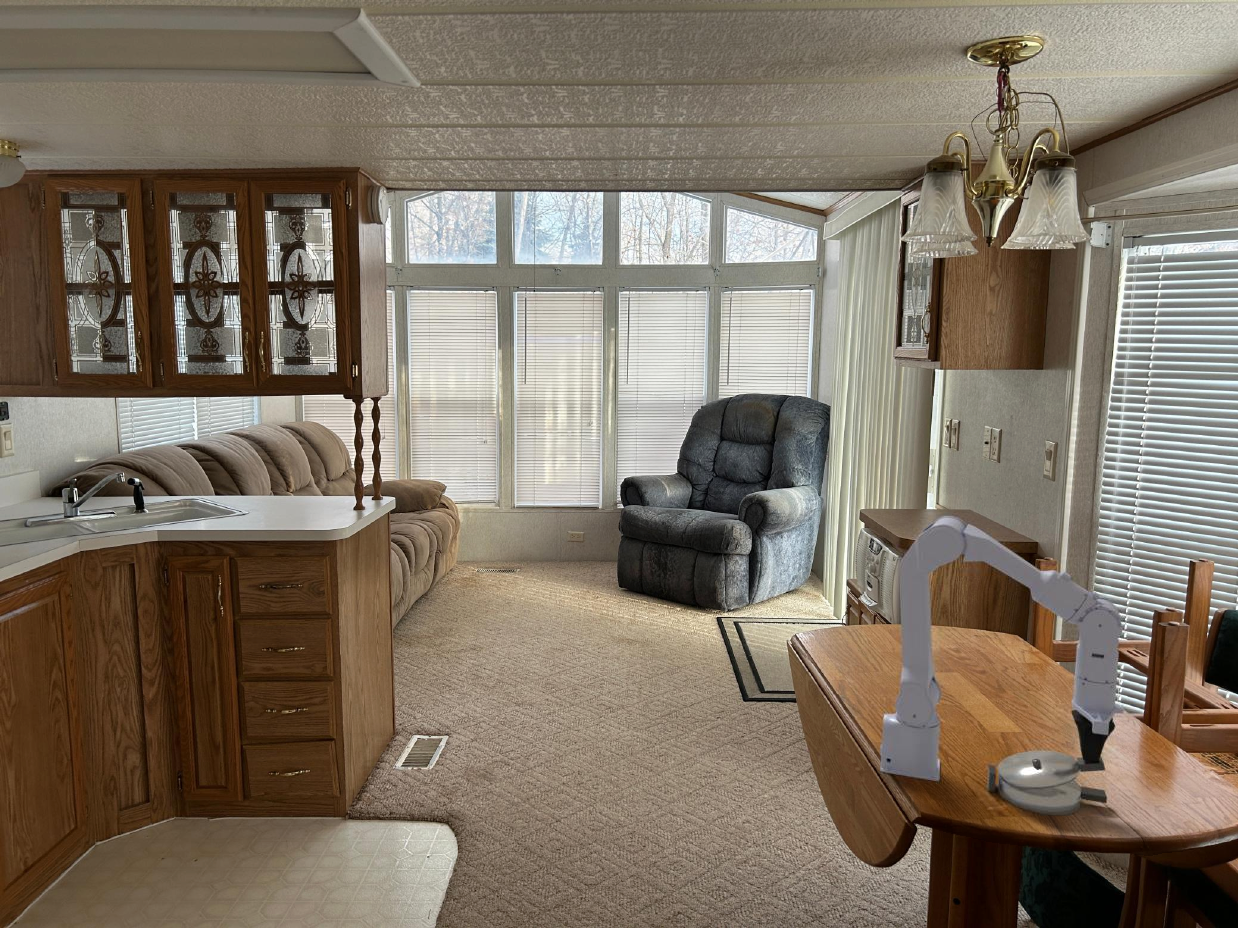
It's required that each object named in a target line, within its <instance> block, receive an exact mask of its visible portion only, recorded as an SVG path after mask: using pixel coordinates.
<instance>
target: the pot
mask: <svg viewBox="0 0 1238 928" xmlns="http://www.w3.org/2000/svg"><path fill="white" fill-rule="evenodd" d="M996 771H997V770H996V766H995V765H991V764H988V769H987V791H988V792H990V793H996V782H997V791H998V794H999V795H1000V796H1001V797H1002V798H1003V799H1004V800H1005V801H1007V802H1008V803H1010V804H1012V805H1014V806H1015V807H1018V808H1020V809H1022V810H1025V811H1028V812H1032V813H1036V814H1041V815H1049V816H1066V815H1071V814H1074V813H1076V812H1077V811H1078V810H1079V809H1080V807H1081V800H1084V801H1091V802H1095V803H1103V804H1108V796H1107V794H1106V791H1105V789H1100V788H1095V787H1094V788H1093V787H1088V786H1082V785H1080V784H1079V782H1078V781H1077V780H1075V779H1074V780H1073V781H1071V782H1069V783H1067V784H1064V785H1061V786H1057V787H1052V788H1043V789H1030V788H1021V787H1017V786H1013V785H1010V784H1008V783H1006V782H1004V781H1003V780H1002V779H1001V778H1000V776H999V775H998V779H997V772H996ZM996 779H997V780H996Z"/></svg>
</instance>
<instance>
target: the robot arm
mask: <svg viewBox="0 0 1238 928" xmlns="http://www.w3.org/2000/svg"><path fill="white" fill-rule="evenodd" d="M961 555H964V556H963V557H964V558H963V559H962V562H966V563H967V562H984V563H986V564H988V565H989V566H991V567H993V568H995V569H997V570H998V571H1000V572H1001V573H1002V574H1003V573H1004V574H1005V575H1006V576H1008V577H1010V578H1012V579H1014V580H1015V581H1017V582H1019V583H1020V584H1021V585H1024V586H1025V587H1027V588H1029V590H1030V595H1031V598H1032V601H1034V602H1036V603H1038V604H1039V605H1041V606H1042V607H1044V608H1045V609H1047V610H1049V611H1050V612H1052V613H1053V614H1054V615H1056V616H1058V618H1061V619H1063V620H1064V621H1065V622H1067V623H1069V624H1073V625H1076V626H1077V628H1078V631H1079V637H1078V639H1079V641H1078V644H1077V645H1076V651H1075V652H1076V656H1075V668H1074V683H1073V684H1074V685H1073V698H1071V706H1072V708H1073V709H1072V710H1071V711H1070V712H1071V715H1072V719H1073V720H1074V721H1073V722H1074V724H1075V725H1076V728H1077V733H1078V739H1079V746H1080V752H1081V758H1083V760H1084V761H1091V762H1098V761H1099V759H1100V756H1101V757H1102V754H1103V751H1104V746H1105V744H1106V741H1107V740H1108V738H1109V736H1110V735H1111V734H1112V733H1113V732H1114V730H1115V728H1116V724H1115V722H1114V719H1113V717H1114V716H1115V715H1116V714H1123V713H1124V707H1123V706H1122V705H1121V704H1116V695H1117V694H1116V693H1117V681H1118V666H1119V665H1118V664H1119V654H1120V652H1119V650H1118V647H1119V644H1120V641H1119V640H1120V639H1119V638H1120V637H1121V635H1122V634H1123V630H1124V627H1122V625H1123V624H1122V619H1121V615H1120V611H1119V610H1118V608H1117V606H1116V605H1115V604H1114V603H1113V602H1111V600H1109V598H1108V597H1104V596H1100V594H1099V593H1097V592H1096V591H1092V592H1091V591H1088V590H1087V589H1085V588H1083V587H1082V586H1081V585H1079V584H1077V583H1075V582H1074V581H1072V580H1071V575H1070V574H1069V573H1068V572H1066V571H1063V570H1062V572H1061V573H1060V572H1058V571H1057V570H1055V569H1054V570H1052V569H1050V570H1040V569H1039V568H1037V567H1036V566H1034V565H1033V564H1031V563H1030V562H1028V561H1027V560H1025V559H1024V558H1023V557H1021V556H1019V554H1017V553H1015V552H1013V551H1012V550H1011V549H1009V548H1008V547H1006V546H1005V545H1004V544H1001V543H1000V542H999V541H997V540H996V539H994V538H993V537H992V536H991V535H988V534H987V533H985V532H984V531H983V530H981V529H979V528H977V527H976V526H974V525H972V524H970V523H968V524H966V523H965V521H964V520H962V519H961V518H959V517H957V516H953V515H944V516H941V517H938V518H937V519H936V520H934V521H933V522H932V523H930V524H928V525H927V526H926V527H924V529H923V530H922V531H921V533H919V535H918V536H917V538H916V539H915V541H914V542H913V543H912V545H910V547H909V549H908V550H907V552H906V553H905V554H904V556H903V557H902V558H901V560H900V562H899V565H898V571H899V573H898V577H899V579H898V580H899V600H900V603H899V604H900V605H899V607H900V629H901V632H900V633H901V655H902V660H901V661H902V668H901V675H900V681H899V682H900V684H899V687H900V689H899V693H898V695H897V697H896V699H895V702H894V709H895V713H884V714H883V718H882V719H883V721H882V732H881V744H880V747H879V755H880V756H881V757H880V772H881V773H886V774H893V775H899V776H903V777H904V776H905V777H909V778H910V777H911V778H916V779H923V780H927V781H932V782H933V781H934V782H939V781H940V776H941V773H940V772H941V771H940V770H941V769H940V766H941V760H940V759H939V744H940V741H939V740H940V727H941V725H940V722H941V718H940V716H939V714H938V712H937V711H936V708H937V704H938V703H939V701H940V700H941V697H942V688H941V686H940V684H939V682H938V680H937V678H936V671H935V666H934V663H933V651H932V650H933V649H932V648H933V644H932V643H933V642H932V641H933V639H932V614H931V612H932V611H931V587H930V586H931V584H930V581H931V580H930V575H931V574H932V573H933V572H934V571H936V569H938V568H939V567H941V566H944V565H946V564H950V563H951V562H954V561H956V560H957V559H959V558H960V557H961Z"/></svg>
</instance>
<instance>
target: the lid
mask: <svg viewBox="0 0 1238 928" xmlns="http://www.w3.org/2000/svg"><path fill="white" fill-rule="evenodd" d="M1101 771H1106V768H1105V762H1104V760H1103V757H1102V755H1101V756H1100V759H1099V761H1098V762H1091V761H1084V760H1083V757H1077V758H1075V757H1073V756H1071V755H1068V754H1066V753H1064V752H1059V751H1055V750H1028V751H1023V752H1018V753H1015V754H1012V755H1009V756H1007V757H1005V758H1004V759H1002V760H1001V761H1000V762H999V764H998V765H997V772H998V777H999V776H1000V778H1001V779H1002V780H1003V781H1004V782H1006V783H1008V784H1010V785H1013V786H1017V787H1021V788H1030V789H1043V788H1052V787H1057V786H1061V785H1064V784H1067V783H1069V782H1071V781H1073V780H1075V779H1076V778H1077V777H1078V776H1079V774H1080V773H1086V772H1101Z"/></svg>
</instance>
